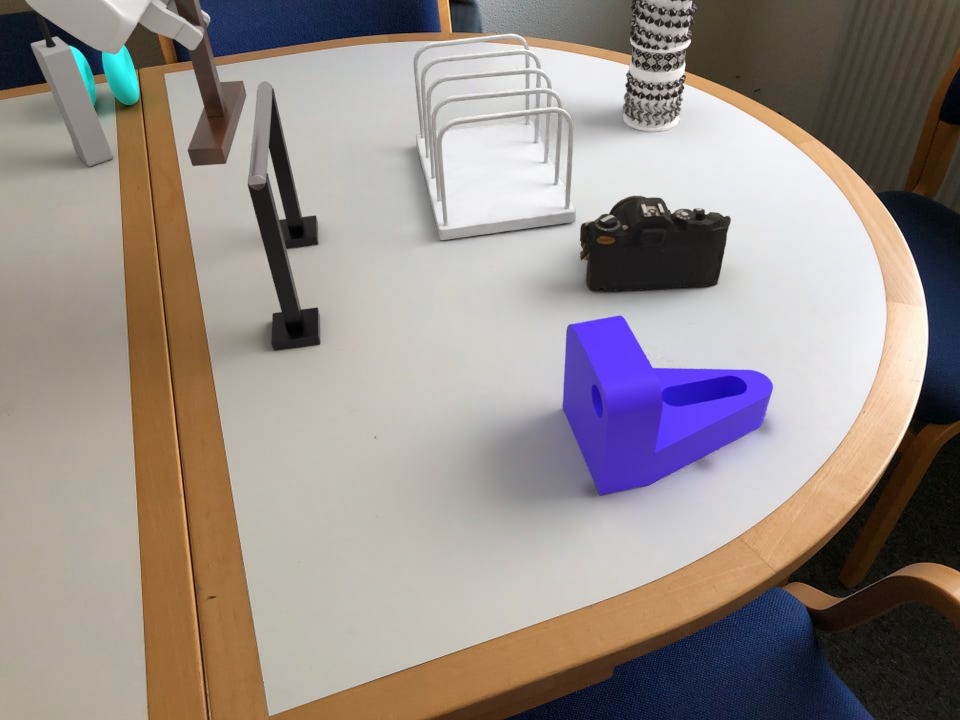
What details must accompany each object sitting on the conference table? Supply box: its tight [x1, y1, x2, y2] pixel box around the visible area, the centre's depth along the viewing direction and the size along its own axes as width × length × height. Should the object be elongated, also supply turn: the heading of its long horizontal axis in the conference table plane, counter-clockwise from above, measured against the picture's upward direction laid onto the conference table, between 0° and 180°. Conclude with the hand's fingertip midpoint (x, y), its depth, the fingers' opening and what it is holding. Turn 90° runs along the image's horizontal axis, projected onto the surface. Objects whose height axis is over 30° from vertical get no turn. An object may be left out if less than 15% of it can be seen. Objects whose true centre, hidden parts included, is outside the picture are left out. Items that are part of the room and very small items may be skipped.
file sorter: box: [413, 33, 577, 241], centre depth 103 cm, size 25×17×16 cm
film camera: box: [579, 195, 732, 292], centre depth 89 cm, size 18×12×10 cm
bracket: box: [562, 315, 774, 496], centre depth 70 cm, size 18×11×12 cm, turn 103°
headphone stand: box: [174, 0, 247, 167], centre depth 69 cm, size 8×14×17 cm, turn 5°
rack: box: [247, 81, 321, 351], centre depth 87 cm, size 5×24×20 cm, turn 9°
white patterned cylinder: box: [622, 0, 698, 133], centre depth 112 cm, size 9×9×25 cm
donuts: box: [68, 44, 140, 107], centre depth 127 cm, size 10×10×10 cm
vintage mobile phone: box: [30, 9, 114, 168], centre depth 109 cm, size 4×5×25 cm
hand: (203, 35), depth 69 cm, fingers closed on headphone stand
